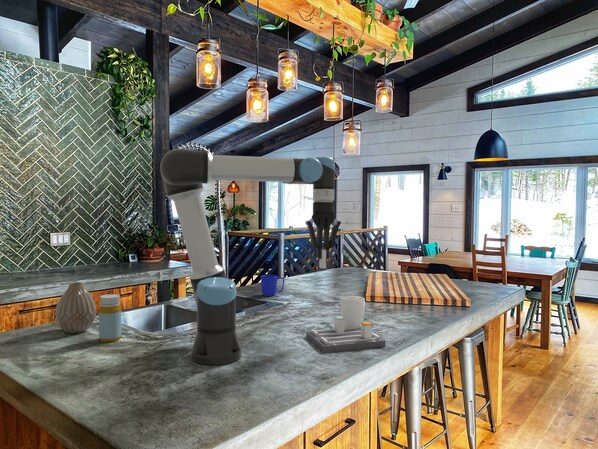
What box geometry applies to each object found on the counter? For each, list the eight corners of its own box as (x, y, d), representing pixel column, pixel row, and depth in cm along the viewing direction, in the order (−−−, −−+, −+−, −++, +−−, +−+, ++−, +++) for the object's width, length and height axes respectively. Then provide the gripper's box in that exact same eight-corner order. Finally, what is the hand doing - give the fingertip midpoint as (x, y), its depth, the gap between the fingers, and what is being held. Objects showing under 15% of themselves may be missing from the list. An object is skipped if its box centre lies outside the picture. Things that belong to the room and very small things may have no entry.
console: (323, 352, 141) (324, 343, 141) (305, 336, 157) (306, 328, 157) (385, 346, 147) (385, 337, 147) (362, 331, 164) (362, 323, 164)
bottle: (116, 335, 157) (116, 293, 156) (124, 339, 152) (124, 296, 151) (96, 339, 152) (95, 295, 151) (104, 344, 147) (103, 299, 146)
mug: (283, 297, 223) (284, 277, 223) (259, 296, 223) (260, 277, 223) (284, 293, 231) (284, 274, 231) (261, 293, 231) (261, 274, 231)
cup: (362, 334, 161) (362, 301, 160) (337, 331, 163) (338, 299, 163) (366, 327, 169) (366, 296, 169) (342, 325, 172) (343, 294, 172)
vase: (50, 330, 161) (49, 282, 160) (87, 323, 170) (87, 278, 170) (63, 338, 152) (63, 288, 151) (102, 330, 162) (101, 283, 161)
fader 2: (364, 338, 148) (365, 324, 148) (361, 336, 151) (361, 321, 151) (371, 338, 149) (371, 323, 149) (367, 335, 152) (367, 321, 151)
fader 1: (337, 332, 155) (338, 318, 155) (334, 330, 158) (334, 316, 157) (344, 332, 155) (344, 318, 155) (340, 329, 158) (340, 316, 158)
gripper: (309, 201, 152) (308, 269, 153) (344, 201, 156) (343, 268, 157) (302, 201, 159) (301, 266, 160) (336, 201, 163) (335, 265, 164)
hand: (322, 267), depth 158 cm, fingers closed
